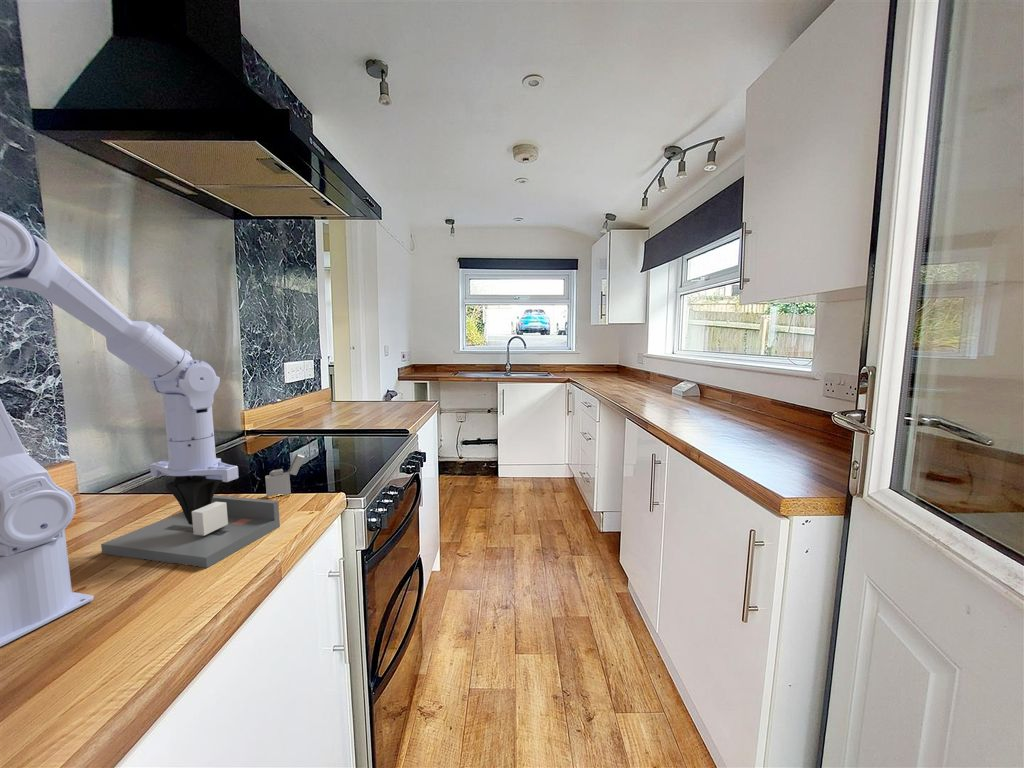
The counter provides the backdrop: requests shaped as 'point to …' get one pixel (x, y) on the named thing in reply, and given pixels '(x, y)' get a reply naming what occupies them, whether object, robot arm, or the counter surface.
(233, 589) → the counter surface
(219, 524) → the knob
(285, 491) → the lighter
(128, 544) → the switch panel
